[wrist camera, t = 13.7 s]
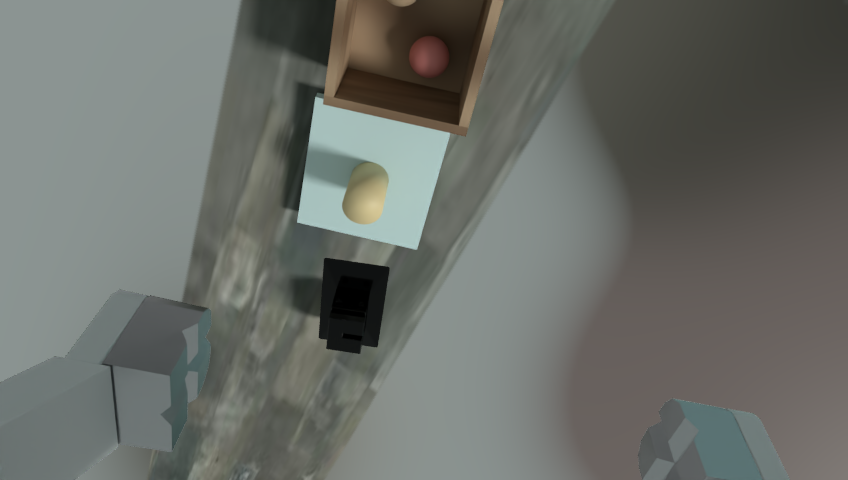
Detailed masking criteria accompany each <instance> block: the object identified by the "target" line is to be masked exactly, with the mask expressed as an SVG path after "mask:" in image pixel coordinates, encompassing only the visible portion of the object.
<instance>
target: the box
mask: <svg viewBox="0 0 848 480" xmlns="http://www.w3.org/2000/svg"><path fill="white" fill-rule="evenodd" d="M503 1H504V0H416V1H415V2H414V3H413V4H411V5H408V6H404V7H400V6H395V5H393V4H391V3H390V2H389V1H387V0H336V7H335V15H334V23H333V30H332V38H331V46H330V53H329V61H328V69H327V76H326V84H325V92H324V99H323V105H328V106H332V107H337V108H341V109H345V110H350V111H354V112H359V113H363V114H368V115H372V116H377V117H381V118H386V119H390V120H394V121H399V122H403V123H408V124H412V125H417V126H421V127H426V128H430V129H435V130H439V131H443V132H448V133H452V134H457V135H461V136H466V134H467V130H468V127H469V123H470V120H471V116H472V112H473V109H474V105H475V102H476V98H477V94H478V91H479V87H480V84H481V80H482V76H483V73H484V69H485V66H486V62H487V58H488V55H489V51H490V48H491V44H492V41H493V37H494V33H495V30H496V26H497V23H498V19H499V15H500V12H501V8H502V5H503ZM425 36H434V37H437V38H439V39H440V40H442V41H443V42H444V43H445V45H446V46H447V48H448V51H449V63H448V66H447V68H446V69H445V71H444V72H443V73H442V74H440V75H439V76H436V77H433V78H425V77H422V76H420V75H418V74H417V73H416V72H415V71H414V70H413V69H412V67H411V65H410V61H409V53H410V49H411V47H412V45H413V44H414V43H415V42H416V41H417V40H418V39H420V38H422V37H425Z"/></svg>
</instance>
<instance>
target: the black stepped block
mask: <svg viewBox="0 0 848 480" xmlns="http://www.w3.org/2000/svg"><path fill="white" fill-rule="evenodd" d="M388 276H389V267H385V266H378V265H372V264H365V263H358V262H351V261H344V260H337V259H330V258H325V259H324V269H323V284H322V298H321V313H320V327H319V338H320V339H326V340H327V347H326V349H331V350H338V351H344V352H351V353H358V354H360V352H361V348H362V345H364V346H371V347H377V346H378V340H379V334H380V327H381V321H382V314H383V308H384V301H385V295H386V288H387V282H388Z"/></svg>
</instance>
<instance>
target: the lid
mask: <svg viewBox="0 0 848 480" xmlns="http://www.w3.org/2000/svg"><path fill="white" fill-rule="evenodd" d="M323 99H324V94H322V93H317V95H316V97H315V103H314V110H313V117H312V124H311V131H310V138H309V144H308V151H307V158H306V165H305V172H304V179H303V186H302V192H301V199H300V206H299V213H298V220H297V222H298V223H302V224H307V225H311V226H315V227H320V228H324V229H328V230H333V231H337V232H342V233H346V234H350V235H355V236H359V237H363V238H368V239H372V240H376V241H381V242H385V243H390V244H394V245H398V246H403V247H407V248H411V249H416V250H417V248H418V244H419V241H420V237H421V234H422V230H423V227H424V223H425V220H426V216H427V213H428V209H429V206H430V202H431V199H432V195H433V192H434V189H435V185H436V182H437V178H438V175H439V171H440V168H441V164H442V161H443V157H444V154H445V150H446V147H447V143H448V140H449V136H450V133H448V132H443V131H439V130H435V129H430V128H426V127H421V126H417V125H412V124H408V123H403V122H399V121H394V120H390V119H386V118H381V117H377V116H372V115H368V114H363V113H359V112H354V111H350V110H345V109H341V108H337V107H332V106H328V105H323Z"/></svg>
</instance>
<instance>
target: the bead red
mask: <svg viewBox="0 0 848 480" xmlns="http://www.w3.org/2000/svg"><path fill="white" fill-rule="evenodd" d="M409 61H410V65H411V67H412V69H413V70H414V71H415V72H416V73H417V74H418V75H420V76H422V77H425V78H433V77H436V76H439V75H440V74H442V73H443V72H444V71H445V69H446V68H447V66H448V63H449V51H448V48H447V46H446V45H445V43H444V42H443V41H442V40H440V39H439V38H437V37H434V36H425V37H422V38H420V39H418V40H417V41H416V42H415V43H414V44H413V45H412V47H411V49H410V53H409Z"/></svg>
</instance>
